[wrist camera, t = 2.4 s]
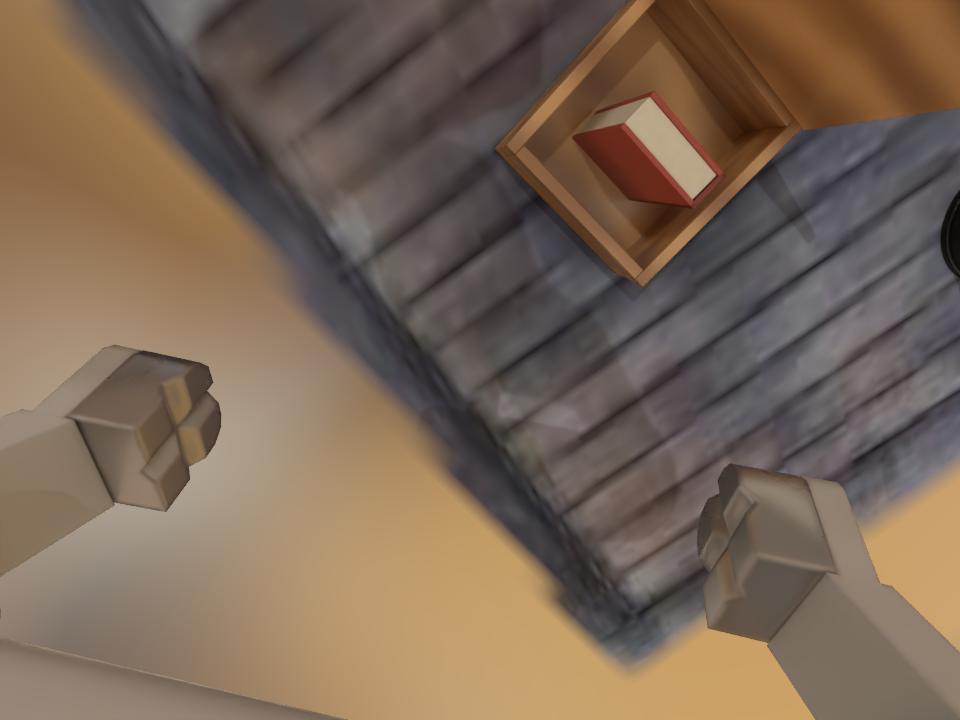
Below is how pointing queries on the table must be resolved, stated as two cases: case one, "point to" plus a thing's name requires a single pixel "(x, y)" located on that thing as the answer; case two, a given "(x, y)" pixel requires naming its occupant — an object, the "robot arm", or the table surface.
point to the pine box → (690, 96)
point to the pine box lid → (851, 55)
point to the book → (649, 153)
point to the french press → (952, 236)
